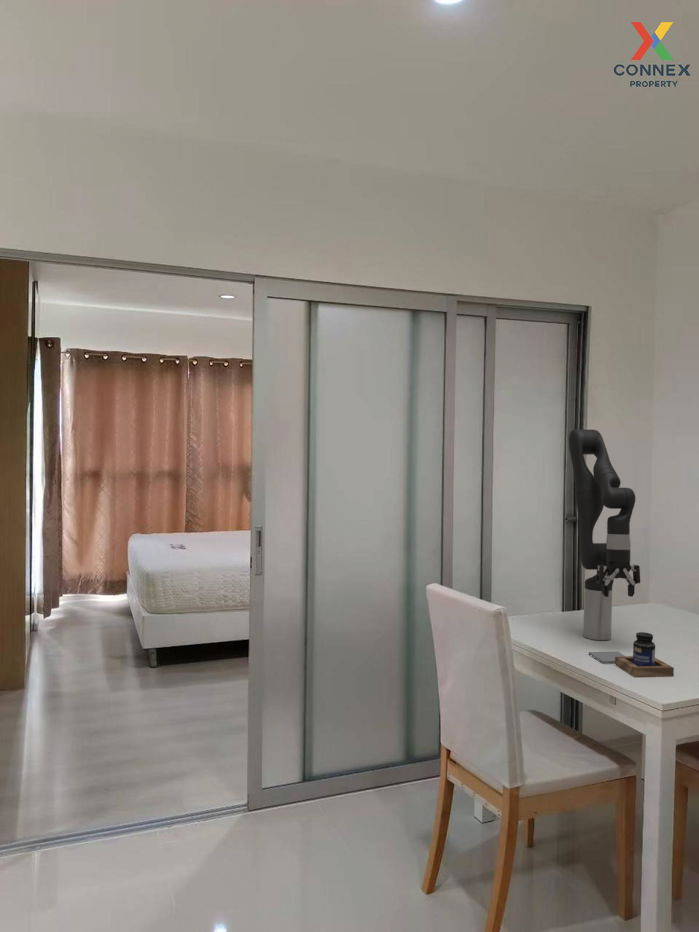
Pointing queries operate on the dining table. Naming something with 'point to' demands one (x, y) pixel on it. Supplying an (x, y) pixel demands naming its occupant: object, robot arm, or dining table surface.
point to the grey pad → (606, 656)
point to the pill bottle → (644, 650)
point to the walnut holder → (644, 668)
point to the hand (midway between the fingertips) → (618, 596)
